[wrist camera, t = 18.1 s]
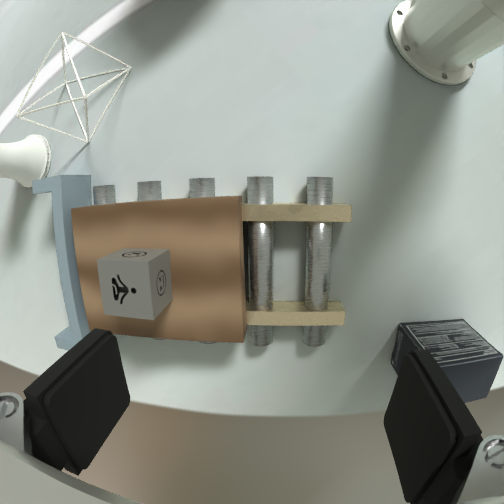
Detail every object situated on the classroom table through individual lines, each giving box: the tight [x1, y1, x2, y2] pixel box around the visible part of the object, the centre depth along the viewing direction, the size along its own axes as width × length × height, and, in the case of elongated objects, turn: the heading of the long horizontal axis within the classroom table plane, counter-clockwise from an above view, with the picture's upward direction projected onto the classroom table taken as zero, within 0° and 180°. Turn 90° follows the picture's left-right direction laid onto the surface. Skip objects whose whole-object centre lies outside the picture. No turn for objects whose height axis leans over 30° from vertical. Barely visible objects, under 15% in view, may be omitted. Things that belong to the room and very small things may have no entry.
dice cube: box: [97, 248, 173, 320], centre depth 26 cm, size 5×5×5 cm
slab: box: [71, 196, 247, 343], centre depth 30 cm, size 14×18×3 cm
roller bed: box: [93, 177, 352, 346], centre depth 33 cm, size 18×30×3 cm, turn 91°
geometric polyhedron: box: [17, 32, 131, 143], centre depth 27 cm, size 12×11×9 cm
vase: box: [0, 134, 51, 187], centre depth 29 cm, size 8×8×10 cm
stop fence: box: [32, 175, 92, 350], centre depth 33 cm, size 21×5×6 cm, turn 1°
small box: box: [391, 319, 503, 403], centre depth 29 cm, size 11×6×10 cm, turn 89°
